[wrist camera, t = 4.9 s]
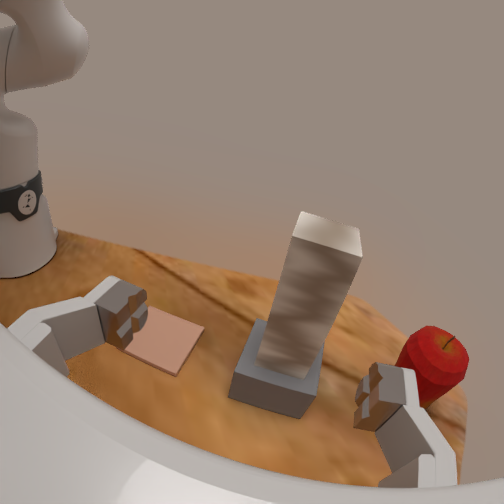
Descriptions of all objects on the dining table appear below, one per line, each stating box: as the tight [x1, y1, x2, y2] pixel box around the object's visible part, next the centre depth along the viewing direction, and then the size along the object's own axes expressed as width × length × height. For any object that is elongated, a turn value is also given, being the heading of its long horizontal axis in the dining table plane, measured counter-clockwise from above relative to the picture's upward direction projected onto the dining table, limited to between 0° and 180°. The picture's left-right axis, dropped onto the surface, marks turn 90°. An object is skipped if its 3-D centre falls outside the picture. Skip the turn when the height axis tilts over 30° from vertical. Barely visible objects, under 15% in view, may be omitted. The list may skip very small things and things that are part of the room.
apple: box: [395, 326, 469, 410], centre depth 27 cm, size 9×8×12 cm
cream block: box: [254, 211, 363, 380], centre depth 25 cm, size 5×5×14 cm
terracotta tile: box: [116, 306, 204, 377], centre depth 33 cm, size 8×8×1 cm
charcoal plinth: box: [228, 318, 324, 419], centre depth 29 cm, size 8×8×5 cm
